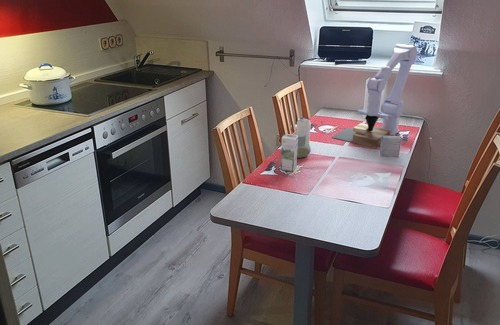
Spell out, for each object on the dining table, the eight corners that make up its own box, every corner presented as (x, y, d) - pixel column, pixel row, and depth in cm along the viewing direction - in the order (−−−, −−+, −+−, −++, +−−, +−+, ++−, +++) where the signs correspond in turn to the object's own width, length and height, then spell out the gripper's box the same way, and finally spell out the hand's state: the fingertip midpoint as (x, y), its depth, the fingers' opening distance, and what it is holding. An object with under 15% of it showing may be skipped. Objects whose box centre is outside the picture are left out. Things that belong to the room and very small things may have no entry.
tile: (360, 126, 230) (360, 122, 229) (371, 129, 227) (372, 125, 226) (353, 131, 223) (353, 127, 223) (364, 134, 220) (365, 130, 219)
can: (311, 142, 221) (312, 118, 216) (306, 146, 215) (308, 122, 211) (298, 139, 223) (299, 116, 219) (294, 144, 218) (295, 120, 213)
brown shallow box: (366, 132, 234) (367, 125, 233) (389, 137, 228) (390, 129, 226) (352, 142, 221) (353, 134, 219) (376, 148, 214) (377, 140, 213)
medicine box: (397, 153, 208) (399, 135, 205) (399, 157, 204) (401, 139, 201) (379, 153, 209) (381, 135, 205) (380, 156, 205) (383, 138, 201)
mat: (346, 128, 240) (346, 127, 240) (365, 132, 234) (365, 131, 234) (331, 137, 226) (331, 137, 226) (351, 142, 221) (351, 141, 221)
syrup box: (296, 166, 193) (298, 134, 188) (293, 172, 188) (295, 139, 182) (283, 165, 195) (285, 133, 189) (280, 170, 190) (281, 137, 184)
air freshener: (288, 159, 200) (289, 138, 196) (283, 153, 208) (284, 132, 204) (312, 158, 202) (314, 137, 198) (306, 151, 210) (308, 130, 206)
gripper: (356, 102, 218) (353, 129, 224) (385, 108, 211) (382, 135, 216) (361, 99, 224) (359, 126, 229) (390, 104, 216) (387, 131, 221)
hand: (370, 130), depth 223 cm, fingers closed
